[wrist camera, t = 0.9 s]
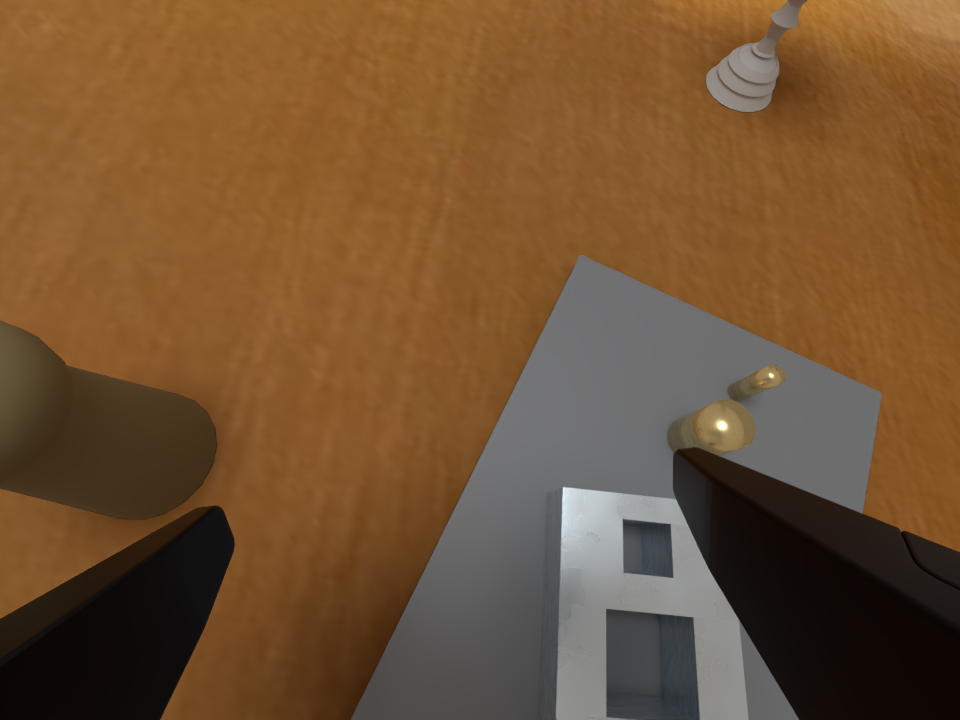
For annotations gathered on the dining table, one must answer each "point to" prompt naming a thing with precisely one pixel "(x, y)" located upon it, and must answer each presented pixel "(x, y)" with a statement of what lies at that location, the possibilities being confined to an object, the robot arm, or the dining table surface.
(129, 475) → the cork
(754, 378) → the pair of brass cylinders
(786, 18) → the chalice
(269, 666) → the dining table surface
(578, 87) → the dining table surface
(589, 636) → the silver rectangular block
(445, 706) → the mount board
